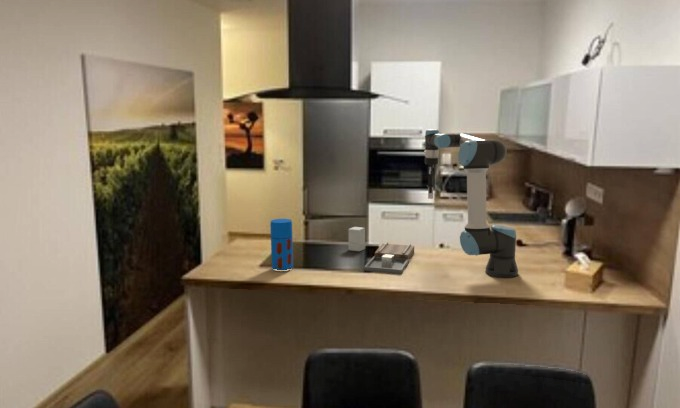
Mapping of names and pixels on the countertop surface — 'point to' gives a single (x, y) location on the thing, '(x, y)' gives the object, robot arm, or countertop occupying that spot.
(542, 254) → the countertop surface
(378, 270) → the tray
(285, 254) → the thermos
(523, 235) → the countertop surface
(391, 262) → the beige block
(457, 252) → the countertop surface
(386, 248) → the slot board
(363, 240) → the supplement box
